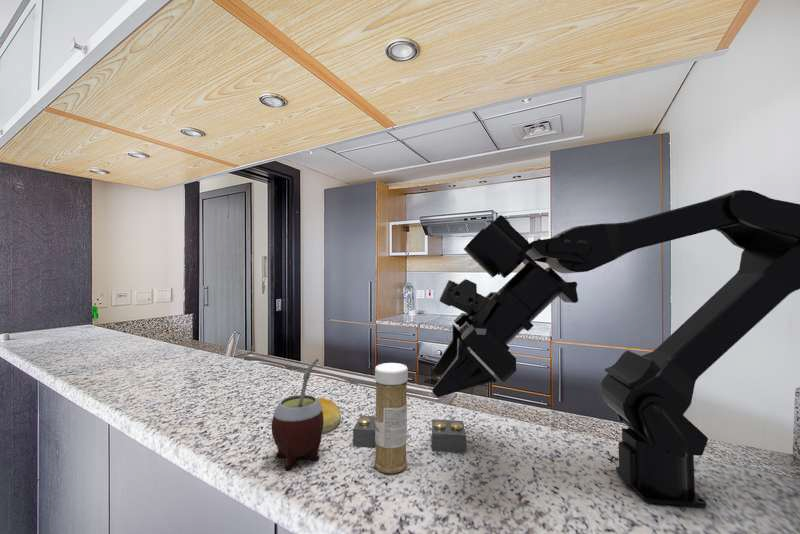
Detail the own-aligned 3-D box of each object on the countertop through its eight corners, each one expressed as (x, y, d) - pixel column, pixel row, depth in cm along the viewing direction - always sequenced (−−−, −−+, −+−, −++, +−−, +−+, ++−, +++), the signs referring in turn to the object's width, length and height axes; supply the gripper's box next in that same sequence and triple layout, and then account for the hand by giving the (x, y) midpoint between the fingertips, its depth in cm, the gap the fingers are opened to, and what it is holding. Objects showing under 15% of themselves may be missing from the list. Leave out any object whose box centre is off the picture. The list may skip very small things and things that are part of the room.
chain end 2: (463, 436, 52) (463, 418, 52) (466, 452, 47) (465, 432, 47) (432, 434, 53) (432, 416, 53) (431, 450, 48) (431, 430, 48)
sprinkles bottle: (373, 457, 46) (374, 362, 47) (405, 455, 46) (405, 361, 47) (374, 476, 41) (375, 370, 42) (409, 474, 42) (409, 370, 43)
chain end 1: (390, 432, 54) (390, 414, 54) (385, 447, 49) (385, 428, 49) (360, 430, 54) (360, 413, 54) (352, 445, 49) (353, 426, 49)
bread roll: (281, 437, 52) (282, 412, 53) (303, 414, 61) (303, 393, 62) (331, 439, 52) (331, 414, 52) (346, 416, 61) (346, 394, 61)
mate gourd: (286, 444, 50) (288, 346, 50) (335, 448, 49) (336, 347, 49) (258, 472, 42) (261, 357, 43) (315, 477, 41) (317, 359, 42)
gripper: (467, 263, 53) (401, 329, 54) (484, 254, 35) (382, 354, 35) (517, 312, 52) (448, 378, 53) (562, 329, 33) (454, 431, 34)
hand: (434, 382), depth 44 cm, fingers open, 9 cm apart
